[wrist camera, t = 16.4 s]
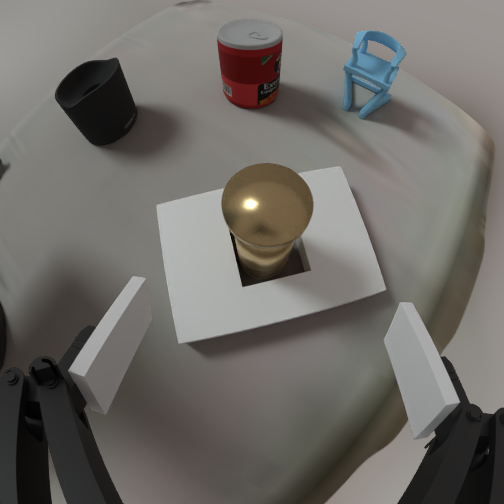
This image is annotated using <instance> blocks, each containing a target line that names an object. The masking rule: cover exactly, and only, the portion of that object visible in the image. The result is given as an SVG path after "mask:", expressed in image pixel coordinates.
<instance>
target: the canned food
mask: <svg viewBox="0 0 504 504" xmlns="http://www.w3.org/2000/svg"><path fill="white" fill-rule="evenodd" d="M282 38H283V36H282V30H281V29H280V28H279V27H278V26H277V25H275V24H273V23H271V22H268V21H264V20H258V19H241V20H235V21H231V22H228V23H226V24H224V25H223V26H221V27H220V28H219V29H218V31H217V42H218V52H219V60H220V68H221V76H222V84H223V91H224V94H225V96H226V97H227V99H228V100H229V101H230V102H231V103H233V104H234V105H236V106H239V107H243V108H261V107H264V106H267V105H269V104H270V103H272V102H273V101H274V100H275V98H276V96H277V94H278V91H279V79H280V66H281V54H282Z"/></svg>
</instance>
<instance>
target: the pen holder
mask: <svg viewBox="0 0 504 504" xmlns="http://www.w3.org/2000/svg"><path fill="white" fill-rule="evenodd" d="M55 99H56V101H57V102H58V104H59V105H60V106H61V108H62V109H63V110H64V111H65V113H66V114H67V115H68V117H69V118H70V119H71V120H72V122H73V123H74V124H75V125H76V127H77V128H78V129H79V130H80V132H81V133H82V134H83V135H84V136H85V138H86V139H87V140H88V141H89V142H91V143H92V144H97V145H103V144H108V143H111V142H113V141H115V140H117V139H119V138H120V137H122V136H123V135H124V134H126V133H127V132H128V131H129V129H130V128H131V127H132V125H133V124H134V122H135V119H136V116H137V109H136V106H135V103H134V101H133V98H132V95H131V93H130V90H129V87H128V85H127V82H126V79H125V77H124V74H123V71H122V69H121V66H120V63H119V60H118V59H117V58H112V59H109V60H94V61H88V62H85V63H83V64H81V65H79V66H78V67H76V68H75V69H74V70H72V71H71V72H70V73H69V74H68V75H67V76H66V77H65V78H64V79H63V80H62V81H61V83H60V84H59V86H58V88H57V90H56V92H55Z"/></svg>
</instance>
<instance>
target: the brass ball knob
mask: <svg viewBox="0 0 504 504" xmlns="http://www.w3.org/2000/svg"><path fill="white" fill-rule="evenodd" d="M221 207H222V213H223V217H224V220H225V223H226V225H227V227H228V228H229V230H230V231H231V233H232V234H233V235H234V236H235V241H236V246H237V252H238V257H239V262H240V265H241V267H242V269H243V270H244V271H245V273H247V274H248V275H249V276H251V277H253V278H255V279H259V280H267V279H271V278H274V277H276V276H277V275H279V274H280V273H281V272H282V271H283V269H284V268H285V266H286V263H287V260H288V258H289V255H290V252H291V250H292V247H293V244H294V241H295V240H297V239H298V238H299V237H300V236H301V235H302V234H303V233H304V231H305V230H306V228H307V227H308V224H309V222H310V220H311V217H312V214H313V208H314V205H313V196H312V193H311V191H310V188H309V186H308V185H307V183H306V182H305V181H304V180H303V178H302V177H301V176H299V175H298V174H297V173H296V172H294V171H293V170H291V169H289V168H287V167H284V166H281V165H277V164H270V163H262V164H255V165H252V166H249V167H246V168H244V169H242V170H240V171H239V172H238V173H236V174H235V175H234V176H233V177H232V178H231V179H230V180H229V181H228V183H227V185H226V186H225V189H224V191H223V194H222V200H221Z"/></svg>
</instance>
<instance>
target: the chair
mask: <svg viewBox="0 0 504 504" xmlns="http://www.w3.org/2000/svg"><path fill="white" fill-rule="evenodd" d="M367 40H372V41H376V42H378V43H381V44H383V45H385V46H387V47H389V48H390V49H392V50H393V51H395V52H396V55H395V57H394V58H393V59H392V61H391V63H390V62H387V61H385V60H383V59H381V58H379V57H376V56H374V55H373V54H371V53H369V52H367V51H366V50H367V46H368V42H367ZM362 41H363V44H362V47H361V49H360V48H359V47H360V45H361V43H362ZM405 56H406V52H405V50H404V48H403V47H402V46H401V45H400V44H399V43H398V42H397V41H396V40H395V39H393V38H392V37H391V36H389V35H388V34H386V33H383V32H379V31H360V32H358V33H357V34H356V38H355V42H354V45H353V48H352V57H351V58H350V59H349V61H348V62H347V63H346V64H345V65H344V69H343V70H344V71H345V95H344V104H343V110H345V111H347V110H349V108H350V105H351V100H352V81H353V82H355V83H357V84H359V85H361V86H363V87H365V88H367V89H369V90H371V91H373V92H375V93H377V94H376V95H375V96H374V97H373V98H372V99H371V100H370V101H369V102H368V103H367V104H366V105H365V106H364V107H363V108H362V109H361V110H360V113H359V118H361V119H363V118H365V117H366V116H367V115H368V114H369V113H371V112H372V111H374V110H376V109H377V108H379V107H380V106H382V105H384V104H385V103H387V102H388V101H389V100H390V98H391V95H390V94H389V93H387V92H388V90H389V88H390V86H391V84H392V82H393V80H394V78H395V76H396V74H397V72H398V69H399V67H398V64H399V63H400V62H401V61H402V60H403V58H404V57H405ZM352 74H353V75H356V76H359V77H362V78H364V79H366V80H368V81H370V82H372V83H373V84H375V85H376V86H378V87H380V88H381V89H379V88H377V87H375V86H373V85H371V84H369V83H367V82H365V81H363V80H361V79H359V78H357V77H355V76H353V75H352ZM382 96H383V97H382ZM381 97H382V98H381Z"/></svg>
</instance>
